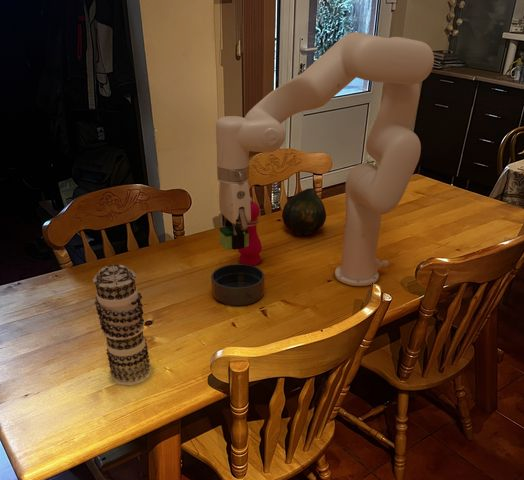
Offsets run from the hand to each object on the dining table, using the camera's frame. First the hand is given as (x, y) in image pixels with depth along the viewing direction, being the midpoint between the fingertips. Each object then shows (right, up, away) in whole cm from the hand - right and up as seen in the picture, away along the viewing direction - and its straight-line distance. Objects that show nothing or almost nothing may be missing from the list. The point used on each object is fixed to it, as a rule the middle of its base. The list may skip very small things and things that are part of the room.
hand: (234, 243), depth 137 cm
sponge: (0, 0, 0) cm, 0 cm away
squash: (+21, +13, +44) cm, 51 cm away
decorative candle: (-21, -33, -20) cm, 44 cm away
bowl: (+1, -12, +9) cm, 15 cm away
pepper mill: (+3, -1, +25) cm, 25 cm away
